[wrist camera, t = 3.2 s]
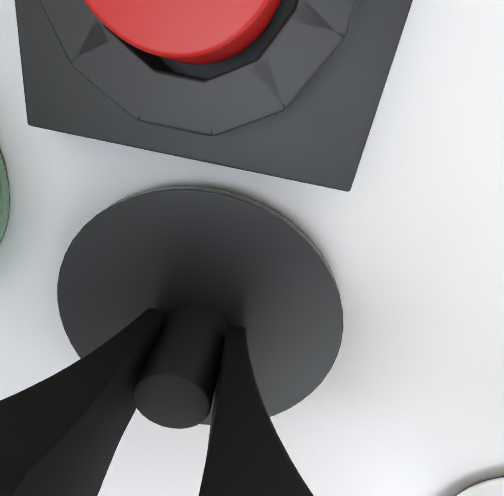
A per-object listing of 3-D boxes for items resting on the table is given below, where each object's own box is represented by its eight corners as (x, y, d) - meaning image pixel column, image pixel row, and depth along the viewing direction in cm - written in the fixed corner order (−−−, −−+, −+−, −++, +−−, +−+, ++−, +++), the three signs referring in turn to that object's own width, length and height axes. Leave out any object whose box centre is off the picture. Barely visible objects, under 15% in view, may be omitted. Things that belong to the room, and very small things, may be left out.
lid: (300, 424, 16) (306, 533, 12) (78, 379, 16) (11, 474, 12) (379, 217, 12) (432, 284, 8) (64, 151, 12) (-54, 184, 7)
